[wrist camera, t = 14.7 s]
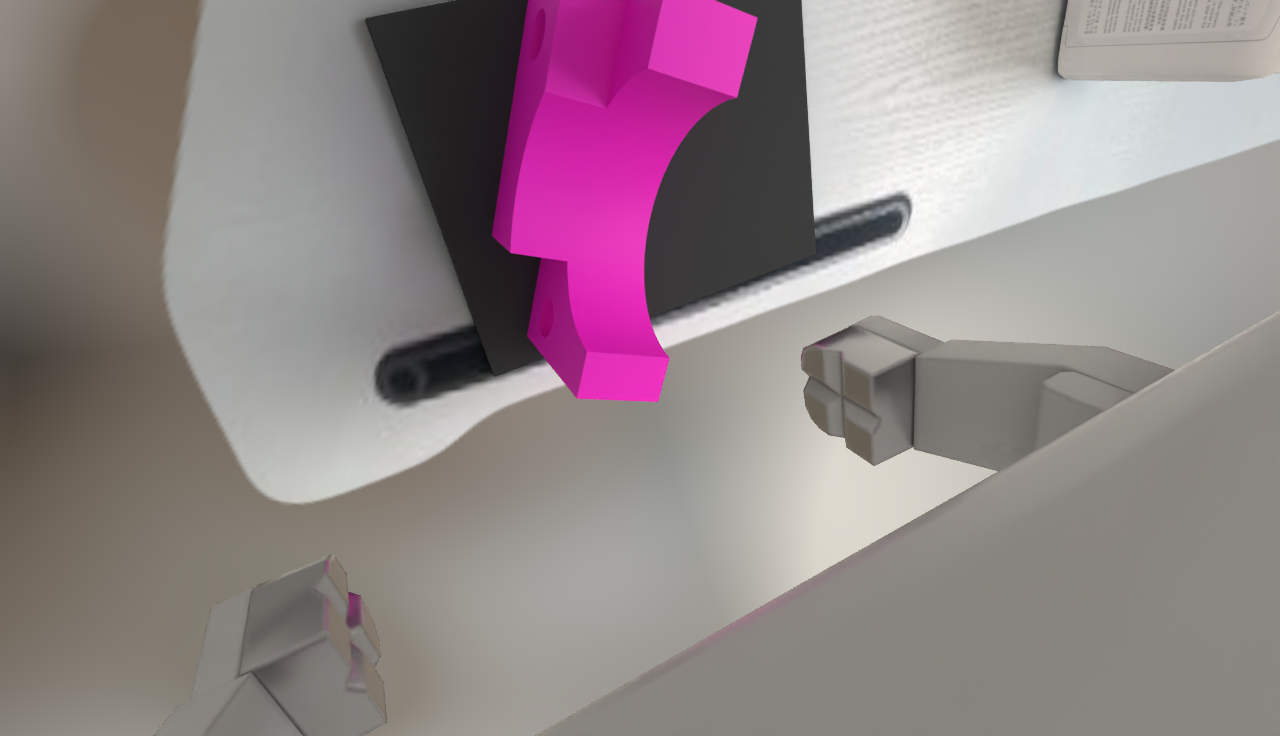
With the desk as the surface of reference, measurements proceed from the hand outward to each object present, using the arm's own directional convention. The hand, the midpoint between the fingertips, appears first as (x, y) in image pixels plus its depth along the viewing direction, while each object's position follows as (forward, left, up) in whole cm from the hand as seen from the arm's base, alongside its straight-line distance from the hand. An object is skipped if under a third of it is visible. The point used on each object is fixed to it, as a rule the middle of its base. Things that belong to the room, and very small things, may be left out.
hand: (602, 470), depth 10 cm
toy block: (+5, +4, -21) cm, 22 cm away
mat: (+8, +7, -21) cm, 24 cm away
